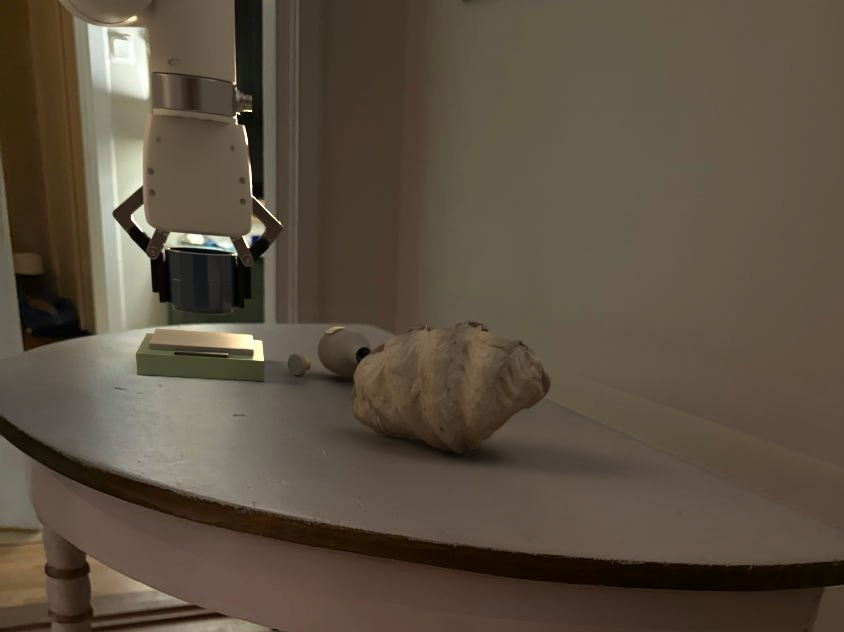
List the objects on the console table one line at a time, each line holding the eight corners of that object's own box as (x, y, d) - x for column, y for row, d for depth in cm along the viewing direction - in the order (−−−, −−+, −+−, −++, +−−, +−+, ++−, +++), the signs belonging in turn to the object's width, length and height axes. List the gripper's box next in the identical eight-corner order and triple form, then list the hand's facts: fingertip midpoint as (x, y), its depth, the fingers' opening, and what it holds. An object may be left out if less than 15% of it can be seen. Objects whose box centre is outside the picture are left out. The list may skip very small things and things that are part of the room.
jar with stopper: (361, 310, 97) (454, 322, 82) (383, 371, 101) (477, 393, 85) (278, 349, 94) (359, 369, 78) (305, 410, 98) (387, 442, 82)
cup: (166, 312, 89) (162, 250, 87) (170, 303, 95) (167, 245, 92) (237, 317, 91) (236, 256, 88) (237, 307, 97) (236, 250, 94)
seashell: (469, 478, 68) (482, 339, 63) (337, 431, 76) (341, 305, 71) (551, 459, 75) (569, 333, 70) (423, 418, 83) (431, 304, 79)
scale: (137, 374, 88) (135, 346, 87) (147, 352, 98) (146, 327, 97) (264, 381, 91) (264, 354, 90) (261, 359, 101) (261, 334, 100)
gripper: (288, 115, 90) (288, 305, 98) (100, 93, 86) (116, 293, 94) (291, 112, 84) (291, 315, 92) (89, 87, 79) (107, 302, 87)
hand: (202, 302), depth 93 cm, fingers closed on cup, 6 cm apart
